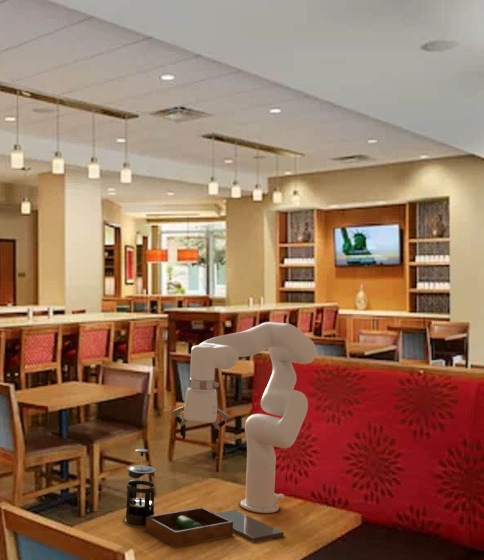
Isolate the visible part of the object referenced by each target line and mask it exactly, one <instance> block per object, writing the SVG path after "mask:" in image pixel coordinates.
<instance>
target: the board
mask: <svg viewBox="0 0 484 560" xmlns="http://www.w3.org/2000/svg"><path fill="white" fill-rule="evenodd" d="M214 513H215V514H217V515H220V516H222V517H224V518H226V519H228V520H230V521H232V522H233V533H235V534H237V535H238V536H239V535H240V536H242V537H244V538H245V539H247V540H250V541H251V542H254V543H255V542H259V541H263V540H269V539H272V540H275V539H281V538H284V536H285V535H284V531H282V530H280V529H278V528H275V527H274V526H272V525H269V524H266V523H264V522H262V521H260V520H258V519H255V518H253V517H251V516H249V515H247V514H244V513H242V512H240V511H238V510H236V509H232V510H227V511H221V512H214Z"/></svg>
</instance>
